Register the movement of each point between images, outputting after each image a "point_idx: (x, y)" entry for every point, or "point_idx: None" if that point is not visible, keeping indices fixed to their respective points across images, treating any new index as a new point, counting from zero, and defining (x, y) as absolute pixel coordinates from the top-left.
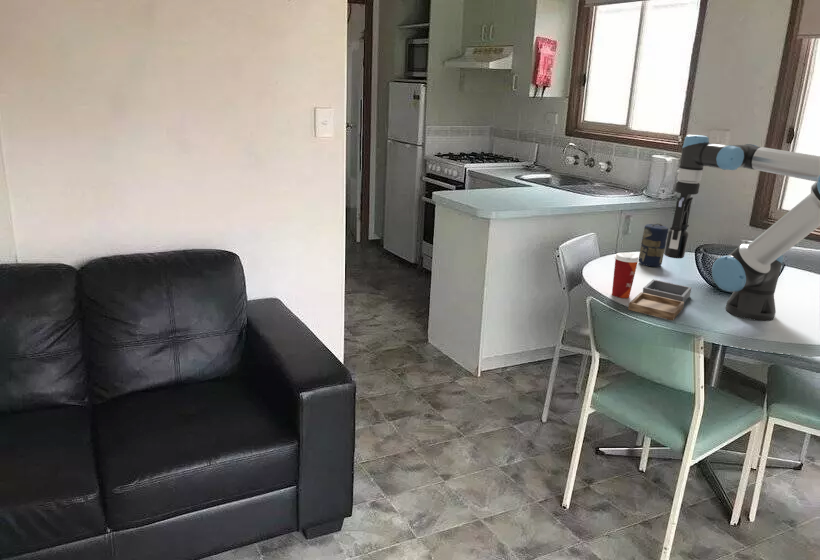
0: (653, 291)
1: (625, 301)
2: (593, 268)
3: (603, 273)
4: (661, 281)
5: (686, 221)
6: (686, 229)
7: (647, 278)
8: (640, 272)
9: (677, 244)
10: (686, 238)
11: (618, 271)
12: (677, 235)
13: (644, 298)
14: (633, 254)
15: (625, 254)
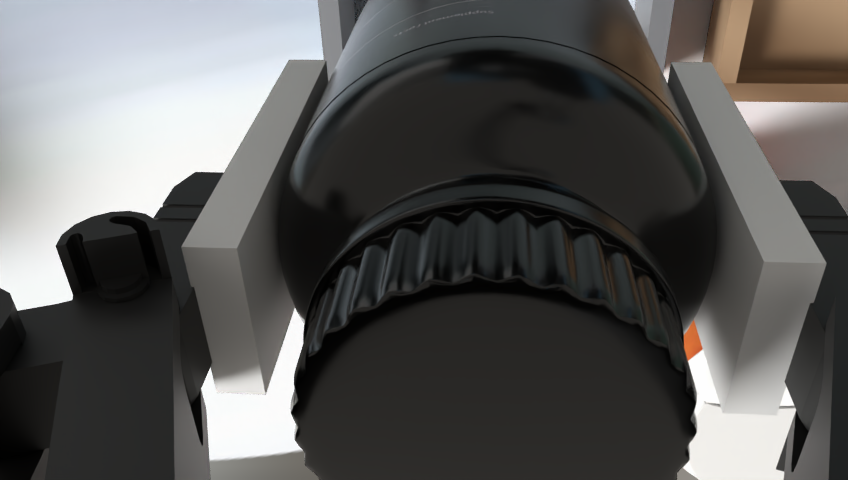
0: (669, 20)
1: (833, 143)
2: (230, 443)
3: (279, 385)
4: (332, 35)
5: (138, 369)
6: (542, 189)
7: (116, 158)
8: (21, 229)
9: (730, 112)
10: (586, 42)
11: None
12: (834, 238)
13: (751, 45)
14: (713, 409)
15: (767, 457)
